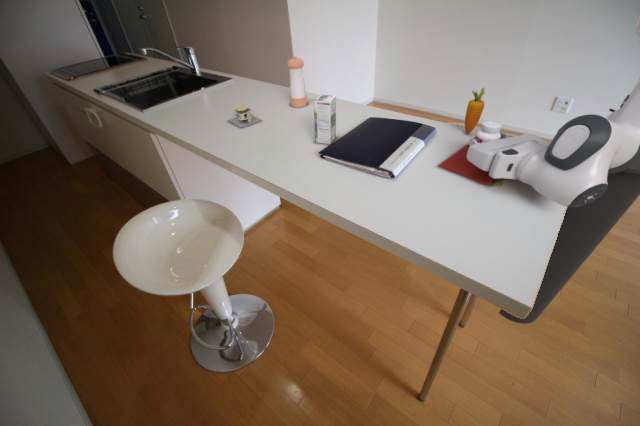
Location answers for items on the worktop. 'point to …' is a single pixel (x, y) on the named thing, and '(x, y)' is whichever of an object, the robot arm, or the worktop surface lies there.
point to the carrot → (474, 111)
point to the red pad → (466, 167)
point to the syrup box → (325, 118)
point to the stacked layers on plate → (243, 116)
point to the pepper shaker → (297, 82)
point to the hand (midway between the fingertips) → (485, 137)
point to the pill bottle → (488, 132)
